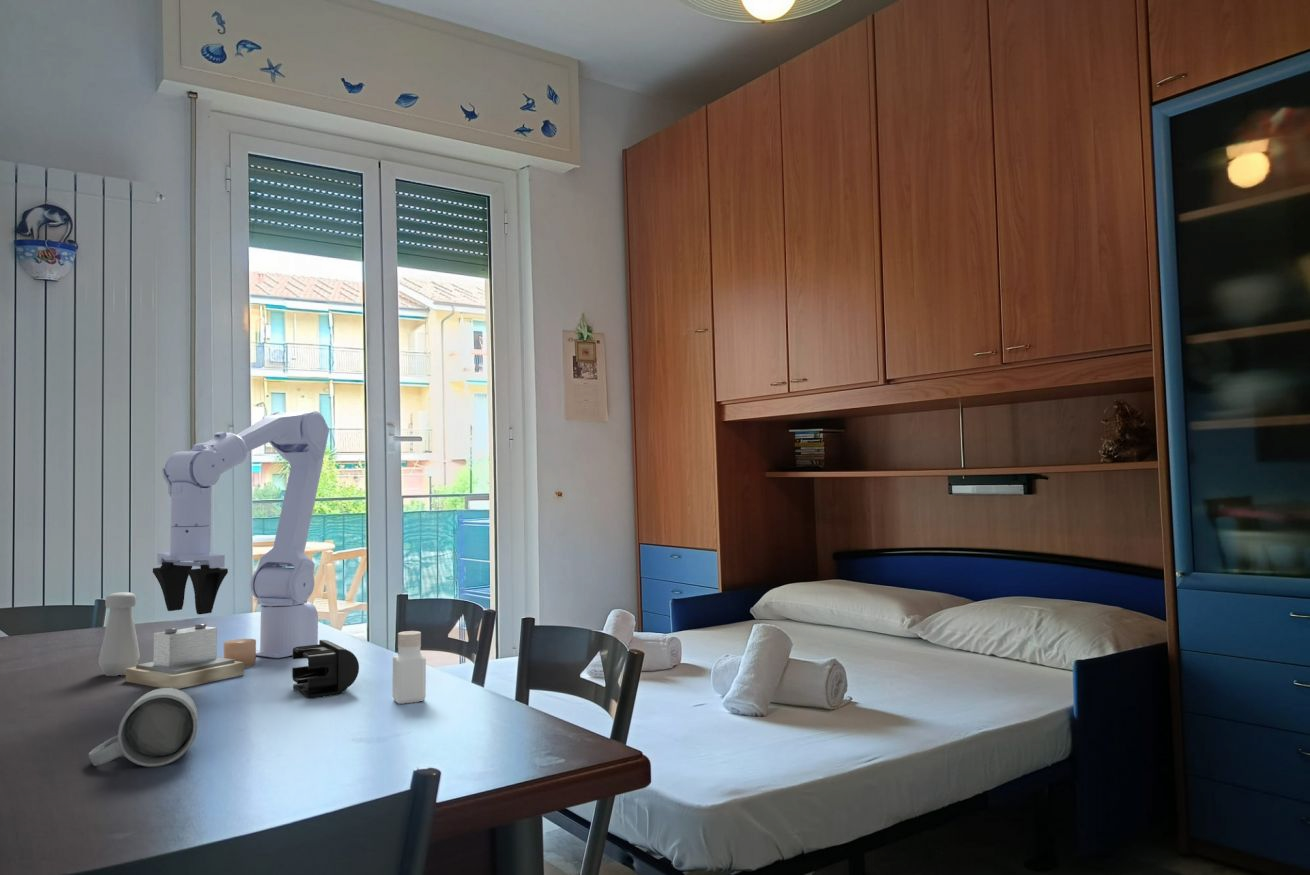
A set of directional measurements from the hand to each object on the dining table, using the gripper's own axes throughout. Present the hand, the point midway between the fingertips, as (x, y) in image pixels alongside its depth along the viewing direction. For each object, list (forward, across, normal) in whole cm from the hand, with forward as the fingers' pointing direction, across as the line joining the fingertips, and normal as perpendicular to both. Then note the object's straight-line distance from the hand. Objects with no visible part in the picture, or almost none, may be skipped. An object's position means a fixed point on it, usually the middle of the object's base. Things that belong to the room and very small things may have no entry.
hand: (189, 611), depth 144 cm
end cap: (+11, +26, +5) cm, 28 cm away
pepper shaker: (+11, +42, +6) cm, 44 cm away
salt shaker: (+11, -13, -3) cm, 17 cm away
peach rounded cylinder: (+10, -2, +11) cm, 15 cm away
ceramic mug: (+11, +36, -28) cm, 47 cm away
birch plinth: (+10, 0, 0) cm, 10 cm away
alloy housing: (+8, 0, 0) cm, 8 cm away
